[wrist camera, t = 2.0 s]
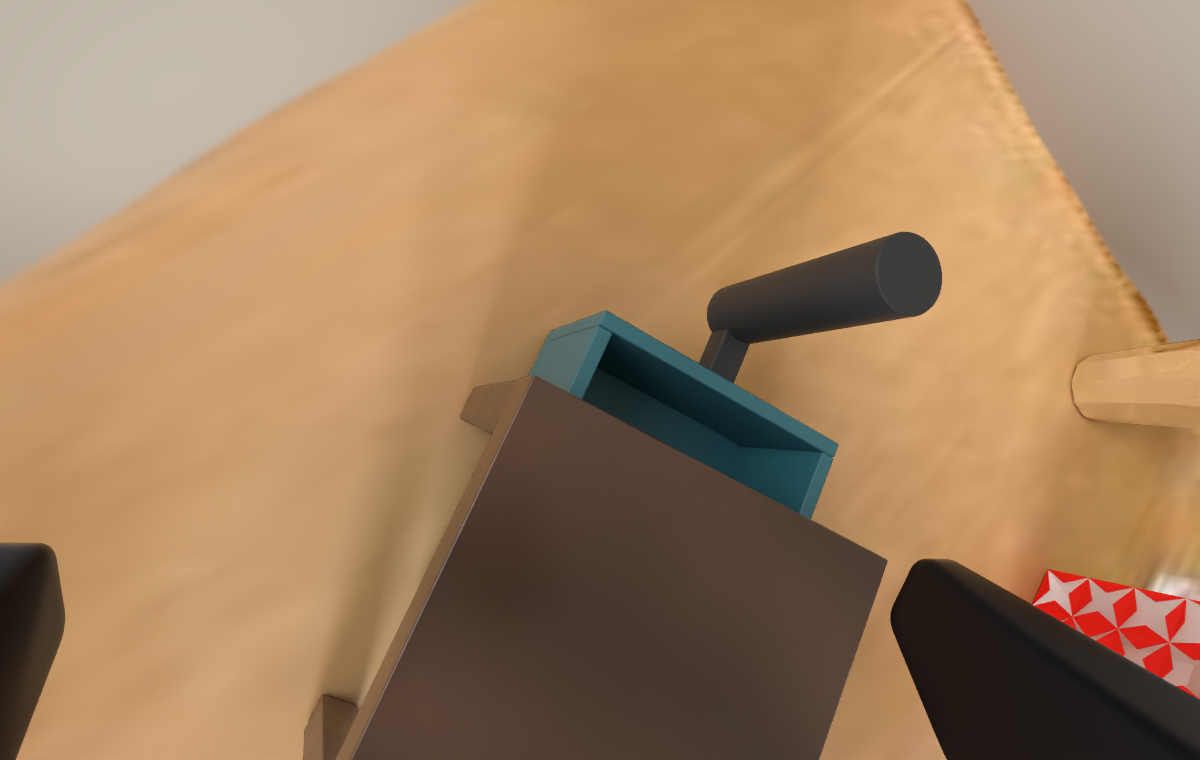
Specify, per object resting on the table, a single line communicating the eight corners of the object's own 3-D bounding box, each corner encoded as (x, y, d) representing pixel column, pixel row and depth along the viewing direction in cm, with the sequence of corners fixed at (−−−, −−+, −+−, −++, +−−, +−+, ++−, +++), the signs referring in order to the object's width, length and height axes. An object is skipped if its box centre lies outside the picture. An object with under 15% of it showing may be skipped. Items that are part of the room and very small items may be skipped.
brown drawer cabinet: (626, 833, 26) (741, 987, 19) (301, 730, 22) (294, 875, 15) (747, 524, 29) (888, 560, 21) (472, 385, 25) (533, 373, 18)
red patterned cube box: (1140, 650, 37) (1348, 710, 29) (1082, 798, 35) (1289, 902, 27) (1046, 568, 34) (1244, 609, 27) (978, 720, 32) (1172, 810, 25)
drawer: (637, 713, 26) (859, 920, 15) (407, 626, 24) (483, 804, 13) (779, 360, 29) (1049, 328, 18) (589, 246, 26) (777, 129, 16)
